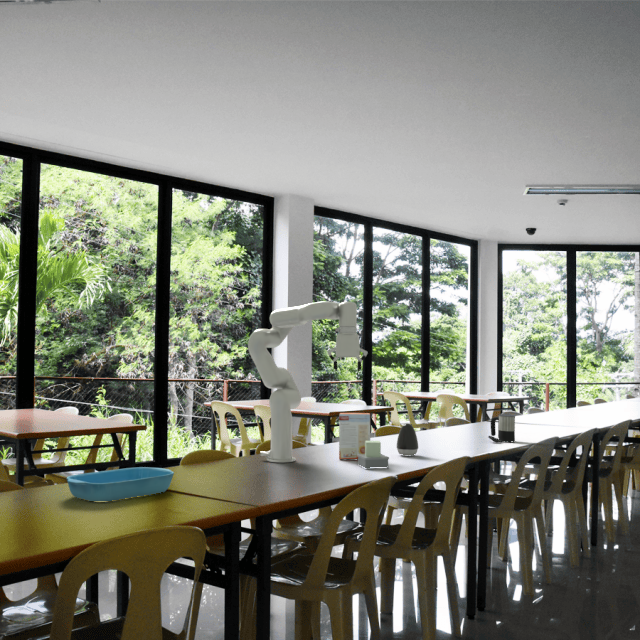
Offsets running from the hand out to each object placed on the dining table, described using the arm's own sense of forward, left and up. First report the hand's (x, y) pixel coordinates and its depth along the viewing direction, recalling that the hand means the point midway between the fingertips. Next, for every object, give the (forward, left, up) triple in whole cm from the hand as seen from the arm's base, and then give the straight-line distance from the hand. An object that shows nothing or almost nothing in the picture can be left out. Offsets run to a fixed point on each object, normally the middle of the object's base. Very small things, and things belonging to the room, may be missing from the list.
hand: (347, 371), depth 292 cm
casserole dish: (-79, -60, -41) cm, 107 cm away
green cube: (+11, -1, -36) cm, 37 cm away
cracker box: (+5, +19, -40) cm, 45 cm away
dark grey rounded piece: (+31, +32, -40) cm, 60 cm away
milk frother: (+92, +86, -41) cm, 132 cm away
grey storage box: (+11, -1, -41) cm, 42 cm away
